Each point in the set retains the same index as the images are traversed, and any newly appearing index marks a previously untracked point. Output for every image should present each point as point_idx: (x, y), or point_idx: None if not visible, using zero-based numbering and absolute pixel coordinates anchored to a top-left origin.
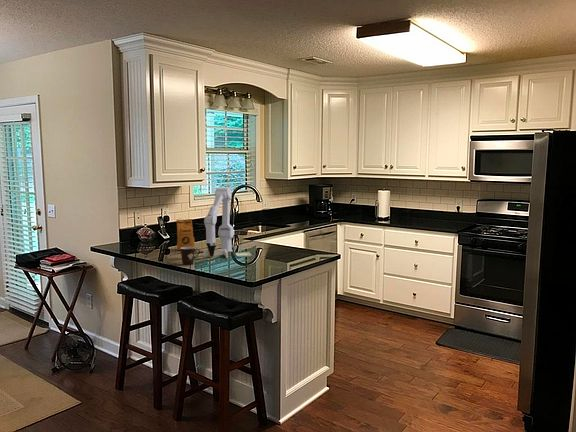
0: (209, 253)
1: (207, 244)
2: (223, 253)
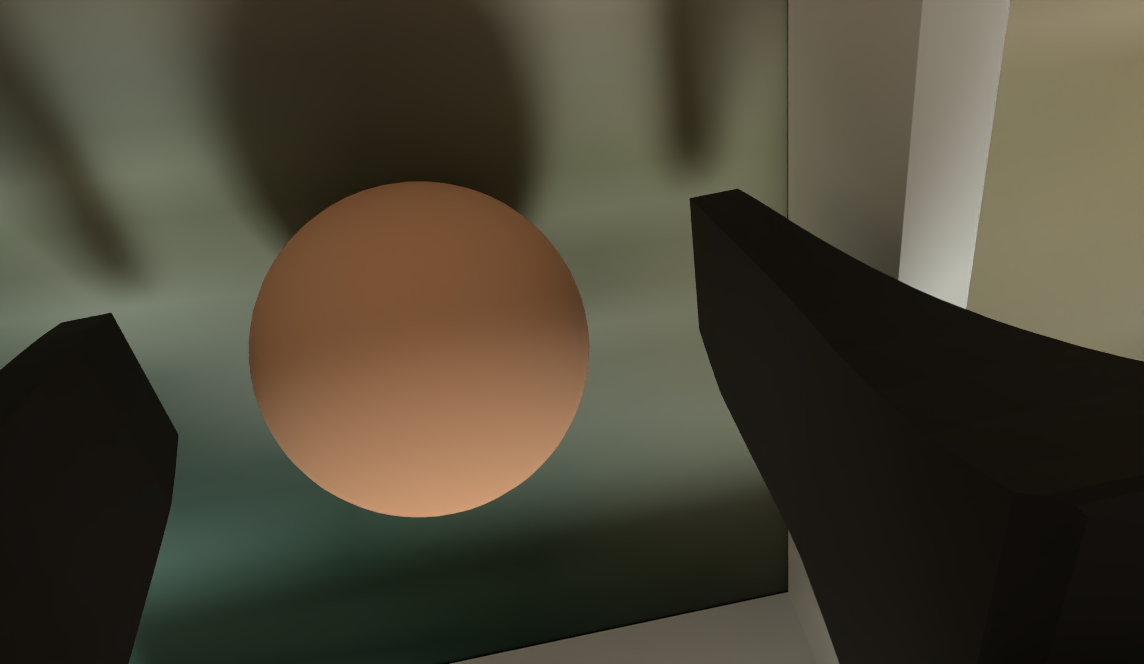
0: (262, 325)
1: (968, 555)
2: (805, 611)
